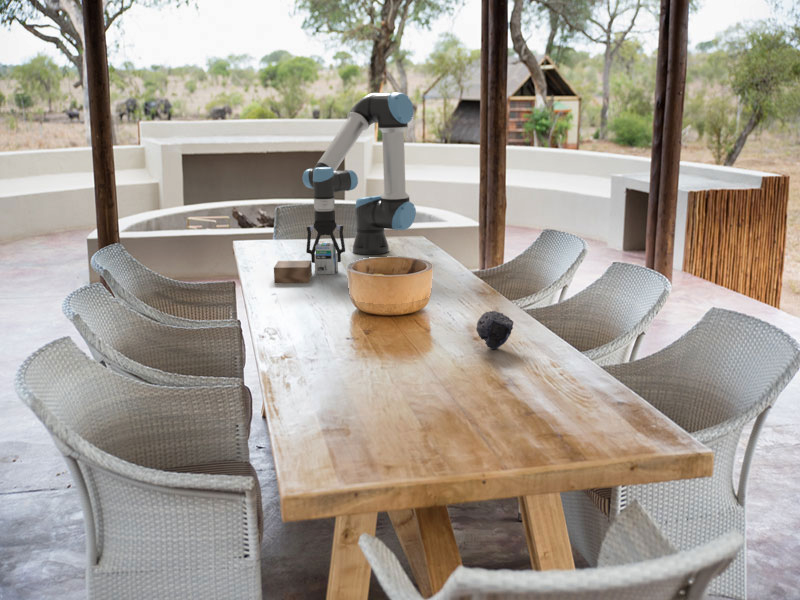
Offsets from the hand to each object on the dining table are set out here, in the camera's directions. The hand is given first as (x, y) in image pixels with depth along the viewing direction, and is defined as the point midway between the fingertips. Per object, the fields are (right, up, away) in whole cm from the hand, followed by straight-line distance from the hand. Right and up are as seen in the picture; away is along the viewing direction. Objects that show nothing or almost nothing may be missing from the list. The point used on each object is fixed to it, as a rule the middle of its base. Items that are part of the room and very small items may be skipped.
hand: (326, 270), depth 311 cm
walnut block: (-11, -4, -12) cm, 17 cm away
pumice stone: (+52, -24, -96) cm, 112 cm away
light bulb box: (0, -1, 0) cm, 1 cm away
